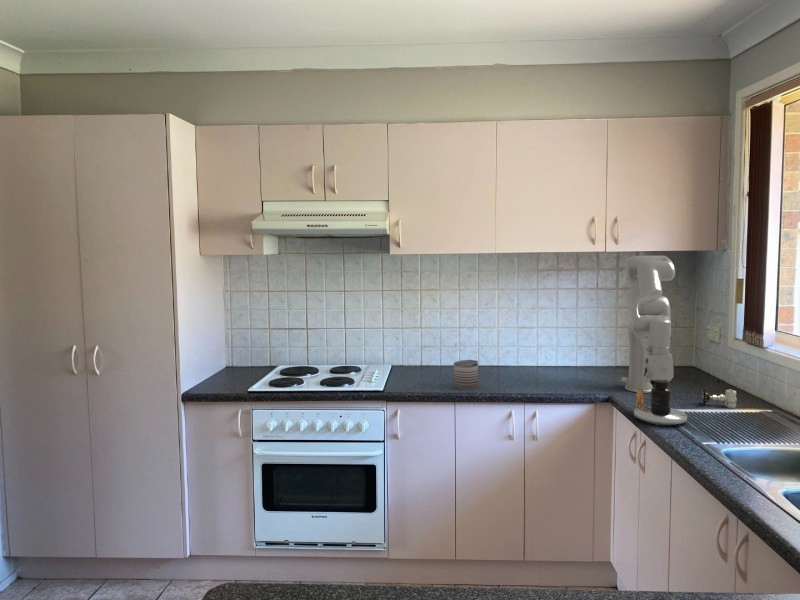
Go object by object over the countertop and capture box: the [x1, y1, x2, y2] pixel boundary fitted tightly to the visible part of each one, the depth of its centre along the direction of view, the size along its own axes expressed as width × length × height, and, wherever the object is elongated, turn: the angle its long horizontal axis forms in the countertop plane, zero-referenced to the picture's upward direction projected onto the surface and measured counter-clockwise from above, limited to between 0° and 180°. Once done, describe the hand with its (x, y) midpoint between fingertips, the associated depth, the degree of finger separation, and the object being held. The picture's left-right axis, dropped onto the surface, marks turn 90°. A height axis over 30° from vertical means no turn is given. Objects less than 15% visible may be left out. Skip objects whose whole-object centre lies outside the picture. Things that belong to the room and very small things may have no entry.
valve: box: [701, 388, 738, 409], centre depth 226 cm, size 7×7×12 cm
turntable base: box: [639, 419, 674, 427], centre depth 209 cm, size 14×14×1 cm
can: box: [453, 359, 479, 391], centre depth 261 cm, size 11×11×12 cm
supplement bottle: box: [650, 380, 672, 415], centre depth 208 cm, size 7×7×12 cm
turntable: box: [633, 390, 688, 425], centre depth 210 cm, size 22×18×7 cm
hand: (657, 395), depth 221 cm, fingers closed
